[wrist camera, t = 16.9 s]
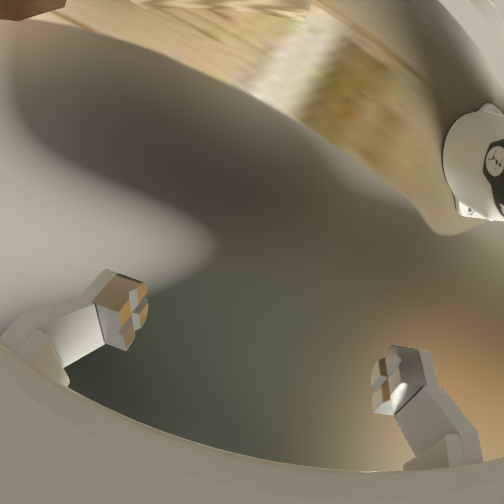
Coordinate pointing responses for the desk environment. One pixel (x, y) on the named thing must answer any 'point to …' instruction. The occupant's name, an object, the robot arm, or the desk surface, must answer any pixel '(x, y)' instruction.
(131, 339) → the robot arm
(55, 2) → the walnut bar
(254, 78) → the desk surface
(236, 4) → the birch stand
